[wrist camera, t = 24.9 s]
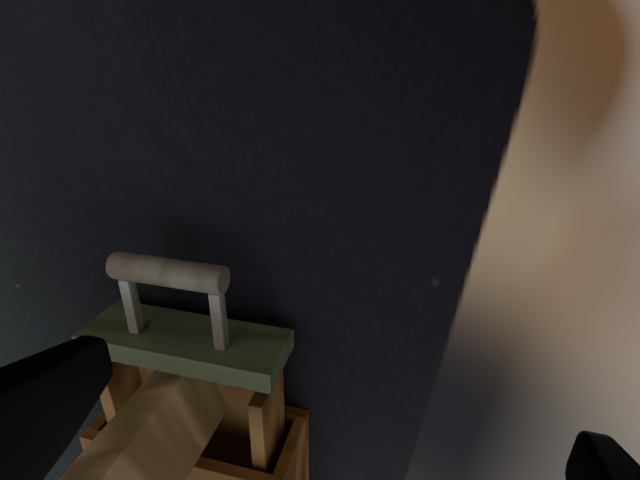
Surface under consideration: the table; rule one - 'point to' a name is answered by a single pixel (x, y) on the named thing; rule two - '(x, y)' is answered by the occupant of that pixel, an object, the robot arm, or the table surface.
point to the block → (155, 432)
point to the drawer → (197, 354)
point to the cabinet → (218, 476)
